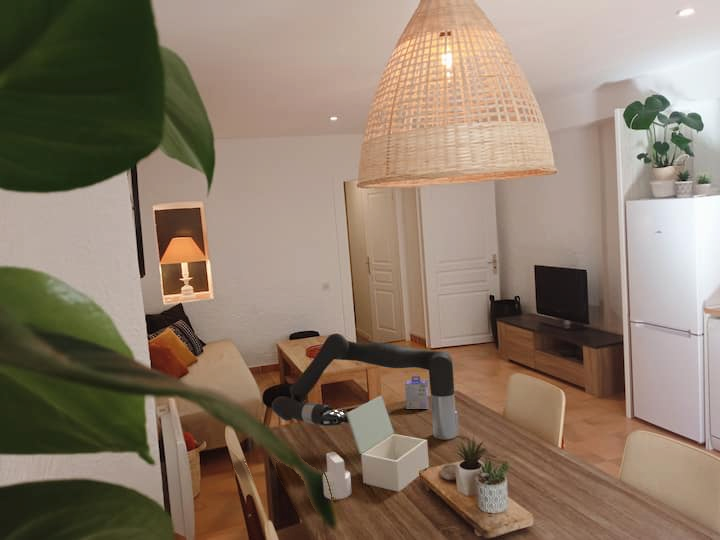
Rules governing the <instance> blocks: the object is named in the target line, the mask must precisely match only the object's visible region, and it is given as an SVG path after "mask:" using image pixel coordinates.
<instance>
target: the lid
mask: <svg viewBox="0 0 720 540" xmlns="http://www.w3.org/2000/svg"><path fill="white" fill-rule="evenodd" d="M346 415H347V418H348V421H349V423H348V424H349V426H350V429H351V432H352V435H353V438H354V441H355V445H356V448H357V450H358V454H359V455H360V454H362V453H364V452H365V451H367V450H369V449H370V448H372V447H373V446H375V445H376V444H378V443H380V442H381V441H383V440H384V439H386V438H387V437H389V436H390V435H392V434H395V431H394V428H393V425H392V423H391V419H390V417H389V414H388V410H387V408H386V405H385V402H384V398H383V396H382V395H379V396H377V397H375V398H373V399H371V400H369V401H368V402H365V403H363V404H361V405H360V406H358V407H355V408H354V409H352V410H350V411H348V413H346Z"/></svg>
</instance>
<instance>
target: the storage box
mask: <svg viewBox="0 0 720 540" xmlns="http://www.w3.org/2000/svg"><path fill="white" fill-rule="evenodd" d="M360 457H361V469H362V470H361V471H362V483H363V484H365V483H366V485H369V486H374V487H378V488H382V489H386V490H390V491H394V492H399V493H400V492H401V491H402V490H403V489H405V488H406V487H407V486H408V485H409V484H410V483H412V482H413V481H414V480H416V479H417V478H418V477H419V476H420V475H419V471H420V470H423V469H425V468H428V467H429V468H430V464H429V463H430V462H429V448H428V439H423V438H418V437H413V436H407V435H401V434H395V433H393V434H391V435H390V436H388V437H386V438H385V439H383V440H382V441H380V442H379V443H377V444H376V445H374V446H372V447H371V448H369V449H368V450H366V451H365V452H363V453H361V455H360ZM429 468H428V469H429Z"/></svg>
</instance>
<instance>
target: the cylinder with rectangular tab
mask: <svg viewBox="0 0 720 540" xmlns="http://www.w3.org/2000/svg"><path fill="white" fill-rule="evenodd" d="M325 456H326V457H325V458H326V469H327V471H325V472H324V473H325V474H326V476H327V479H328V482H329V485H330V489H331V493H332V497H334V499H333V500H341V499H346V498H348V497H349V496H350V495H351V494H352V481H351V479H352V478H351V472H350V471H349V470H347V469H345V467H346V466H345V460H344V458H342V457H341V456H340V455H338V454H337V453H336V452H335V451H332V452H327V453H326V455H325ZM324 473H323V474H322V484H323V486H322V487H323V495H324V497H325V498H326V499H329V500H332V499H331V494H330V491H329V486H328V483H327V480H326V477H325V475H324ZM335 498H336V499H335Z"/></svg>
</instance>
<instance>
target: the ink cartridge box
mask: <svg viewBox="0 0 720 540" xmlns="http://www.w3.org/2000/svg"><path fill="white" fill-rule="evenodd" d="M428 390H429V389H428V381H427V380H421V376H420V375H417V376H416V375H414V376H412V377H411V380H407V381H406V382H405V383H404V392H405V406H406V409H427V410H428V409H429V407H430V406H429V405H430V403H429V392H428ZM406 409H405V410H406Z"/></svg>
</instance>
